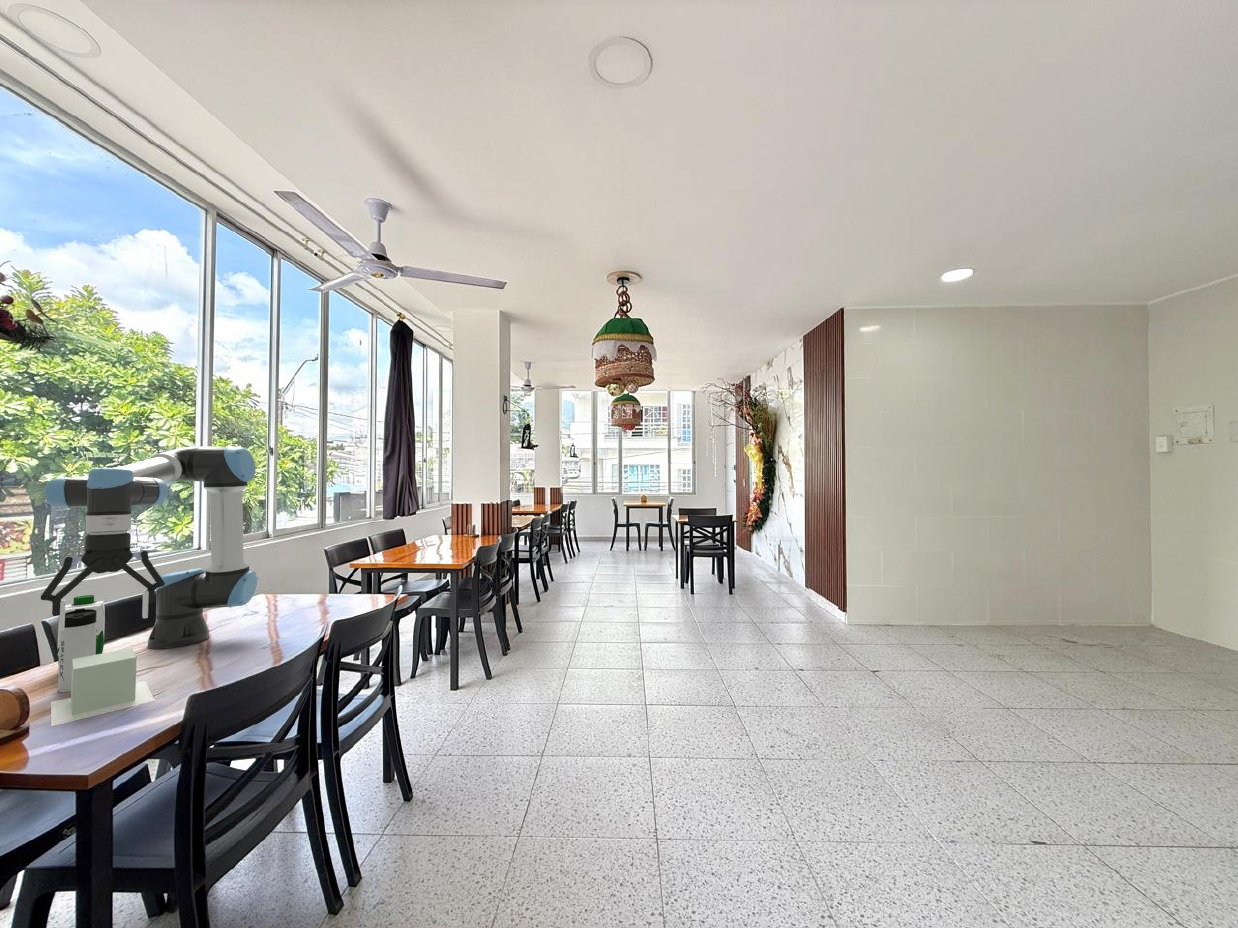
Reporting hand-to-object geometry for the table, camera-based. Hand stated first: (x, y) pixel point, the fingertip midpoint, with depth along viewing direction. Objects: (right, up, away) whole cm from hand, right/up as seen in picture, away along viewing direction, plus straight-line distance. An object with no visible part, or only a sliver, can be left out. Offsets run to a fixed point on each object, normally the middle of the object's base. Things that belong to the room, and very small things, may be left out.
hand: (105, 623), depth 116 cm
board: (0, -19, -1) cm, 19 cm away
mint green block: (0, -18, -1) cm, 18 cm away
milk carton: (-31, -21, +23) cm, 43 cm away
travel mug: (-15, -20, +8) cm, 26 cm away
